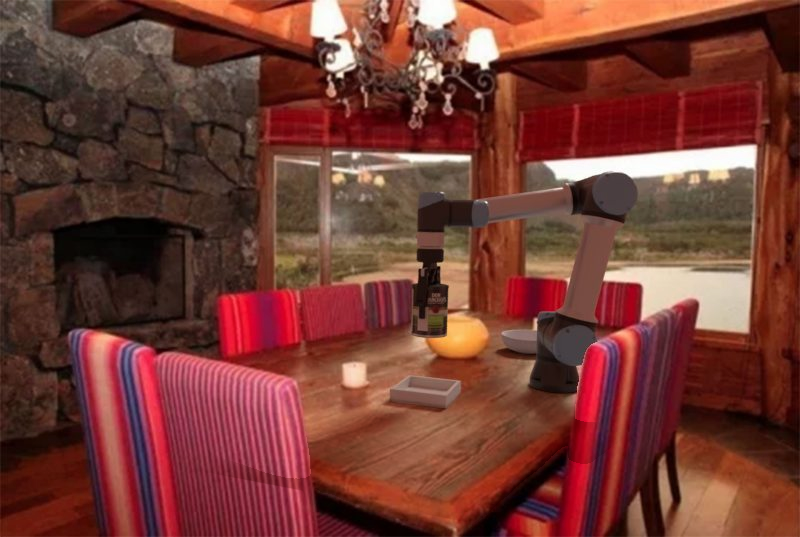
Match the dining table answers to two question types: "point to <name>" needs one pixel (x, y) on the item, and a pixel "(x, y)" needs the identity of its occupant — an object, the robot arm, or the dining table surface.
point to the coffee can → (432, 312)
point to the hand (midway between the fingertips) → (428, 327)
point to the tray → (425, 391)
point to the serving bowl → (520, 340)
